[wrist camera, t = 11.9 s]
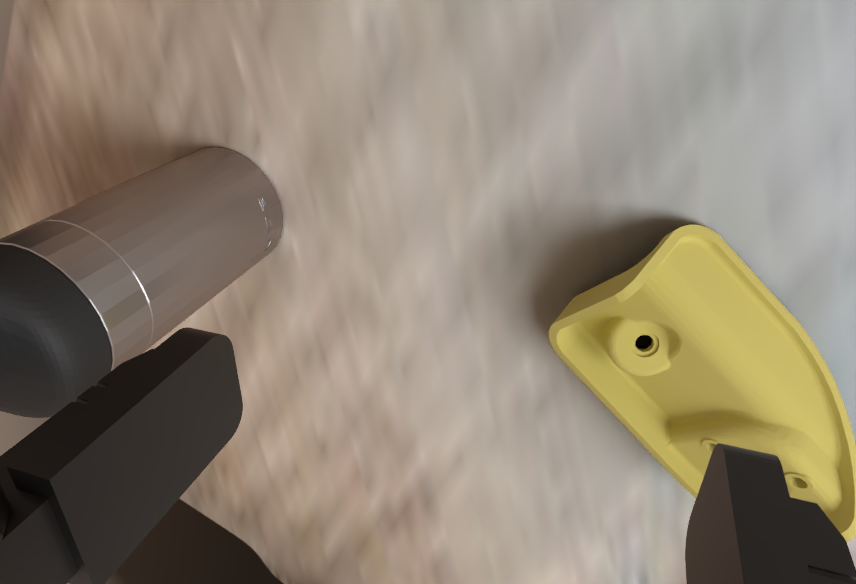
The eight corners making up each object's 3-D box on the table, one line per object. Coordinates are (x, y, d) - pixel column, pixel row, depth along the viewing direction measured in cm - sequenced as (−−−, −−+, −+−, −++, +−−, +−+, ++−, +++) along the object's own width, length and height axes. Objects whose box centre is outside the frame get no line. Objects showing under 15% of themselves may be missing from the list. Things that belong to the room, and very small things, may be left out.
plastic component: (534, 331, 40) (639, 284, 31) (586, 265, 44) (693, 206, 35) (729, 536, 41) (882, 545, 33) (764, 455, 45) (909, 444, 36)
